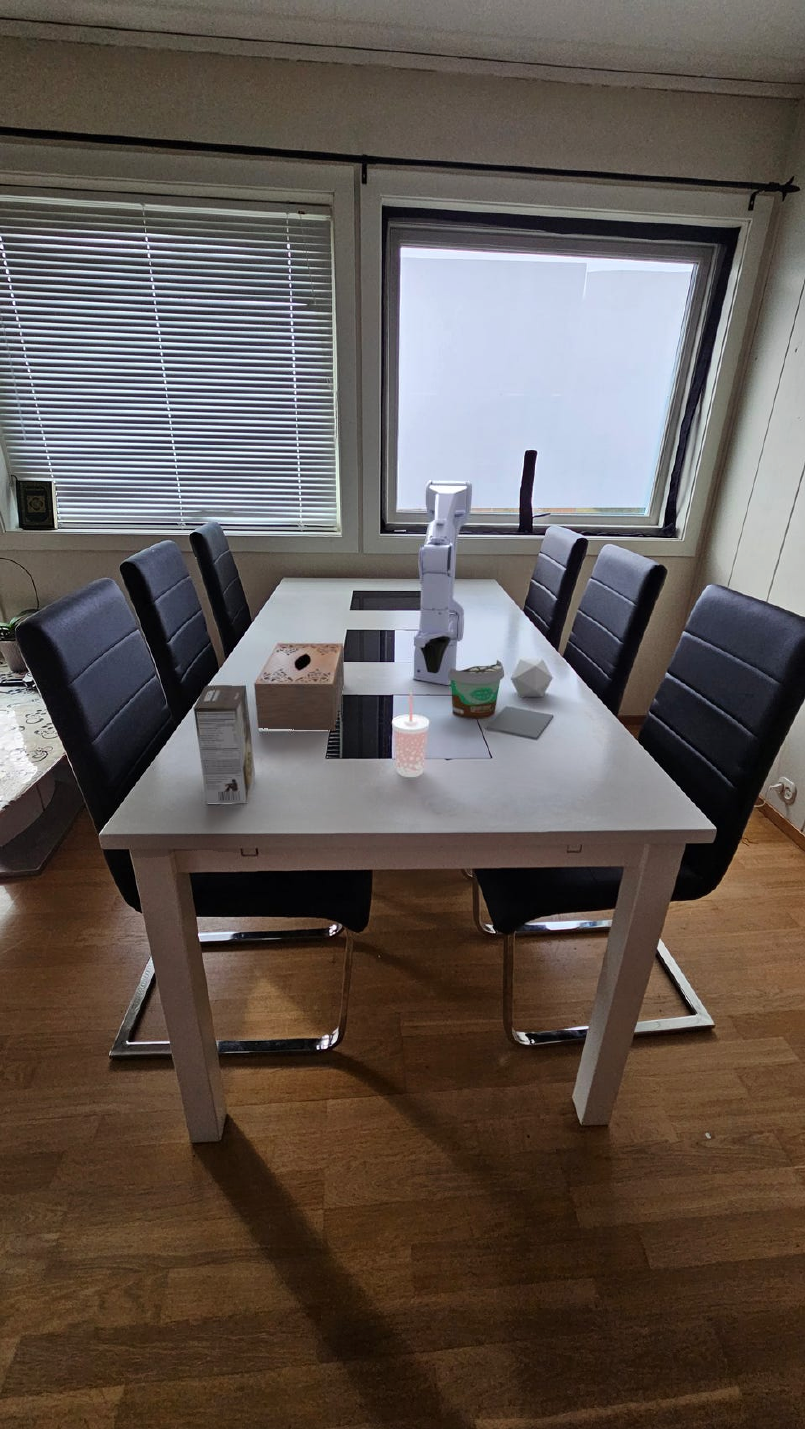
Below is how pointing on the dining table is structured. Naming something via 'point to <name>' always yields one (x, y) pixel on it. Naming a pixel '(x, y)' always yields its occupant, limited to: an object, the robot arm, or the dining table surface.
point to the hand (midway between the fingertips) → (433, 671)
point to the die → (531, 678)
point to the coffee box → (225, 743)
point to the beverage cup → (410, 742)
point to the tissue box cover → (301, 687)
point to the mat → (520, 722)
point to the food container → (475, 690)
